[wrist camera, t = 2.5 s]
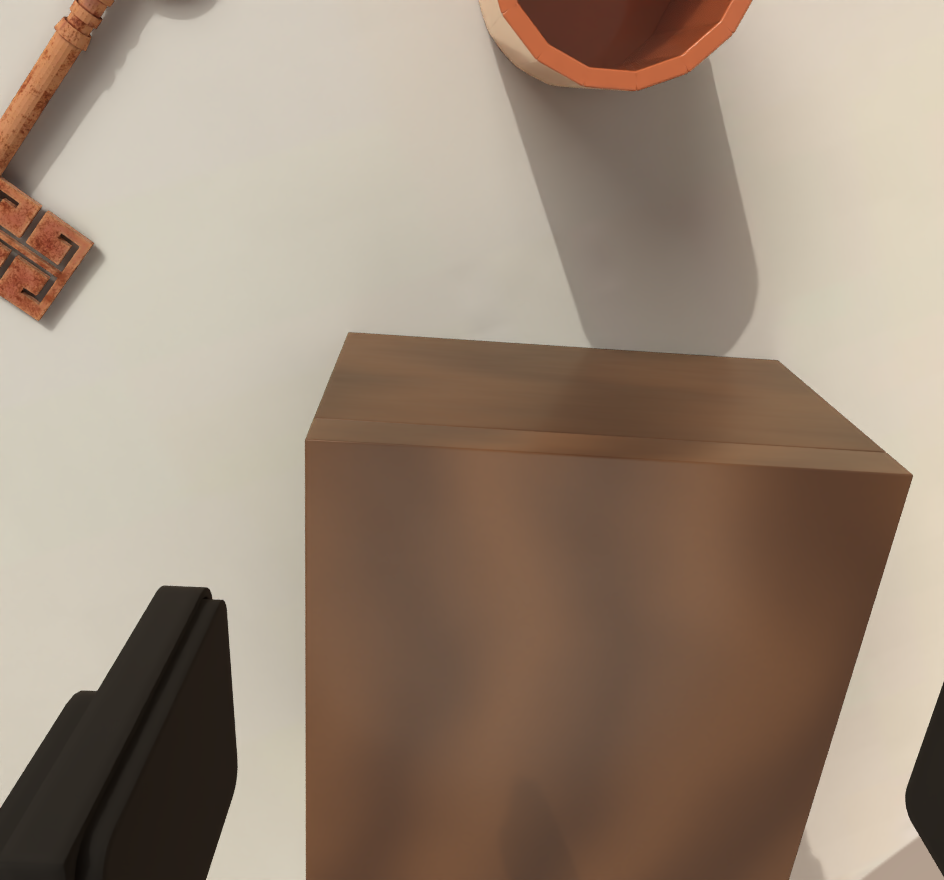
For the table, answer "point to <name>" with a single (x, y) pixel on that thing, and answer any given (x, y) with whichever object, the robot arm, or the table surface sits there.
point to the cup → (610, 38)
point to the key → (3, 143)
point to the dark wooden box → (578, 610)
